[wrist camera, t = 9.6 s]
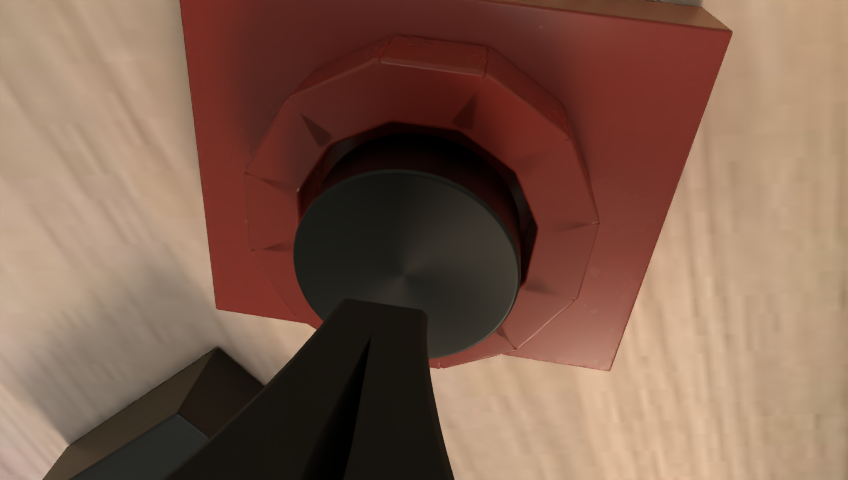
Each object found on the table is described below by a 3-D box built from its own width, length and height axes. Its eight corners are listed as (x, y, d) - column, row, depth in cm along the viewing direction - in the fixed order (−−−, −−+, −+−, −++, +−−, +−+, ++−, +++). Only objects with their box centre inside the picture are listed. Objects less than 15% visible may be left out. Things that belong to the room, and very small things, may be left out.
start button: (316, 293, 14) (293, 342, 13) (316, 117, 12) (288, 153, 10) (501, 322, 14) (500, 375, 13) (538, 148, 12) (542, 189, 10)
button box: (244, 265, 19) (186, 353, 15) (219, -53, 14) (124, -26, 10) (600, 320, 18) (620, 424, 15) (704, 6, 13) (768, 57, 10)
